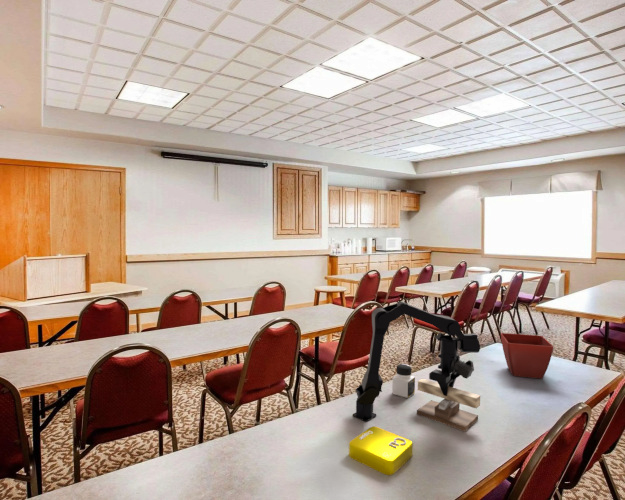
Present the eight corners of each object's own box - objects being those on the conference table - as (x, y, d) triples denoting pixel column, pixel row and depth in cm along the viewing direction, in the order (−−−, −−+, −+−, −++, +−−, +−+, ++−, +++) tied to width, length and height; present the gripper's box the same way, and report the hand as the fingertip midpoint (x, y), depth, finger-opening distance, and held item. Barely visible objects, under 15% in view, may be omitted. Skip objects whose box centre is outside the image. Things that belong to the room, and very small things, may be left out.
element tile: (372, 437, 126) (373, 423, 126) (414, 455, 116) (415, 439, 116) (346, 457, 115) (346, 441, 115) (390, 478, 105) (390, 461, 105)
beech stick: (479, 405, 134) (480, 395, 134) (476, 408, 131) (476, 398, 131) (422, 387, 149) (422, 378, 149) (417, 389, 146) (417, 380, 146)
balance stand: (465, 431, 130) (465, 412, 130) (416, 414, 142) (417, 396, 142) (478, 419, 139) (478, 401, 138) (431, 403, 151) (431, 387, 151)
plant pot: (506, 377, 180) (507, 342, 179) (499, 364, 198) (500, 332, 197) (552, 382, 174) (554, 346, 173) (540, 368, 192) (542, 335, 192)
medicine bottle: (408, 398, 156) (408, 369, 155) (391, 394, 160) (392, 365, 159) (414, 392, 161) (415, 364, 161) (399, 388, 166) (399, 361, 165)
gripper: (460, 363, 127) (458, 409, 128) (480, 351, 141) (479, 393, 141) (429, 355, 135) (427, 399, 135) (451, 345, 148) (450, 384, 149)
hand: (447, 394), depth 140 cm, fingers closed on beech stick, 3 cm apart
